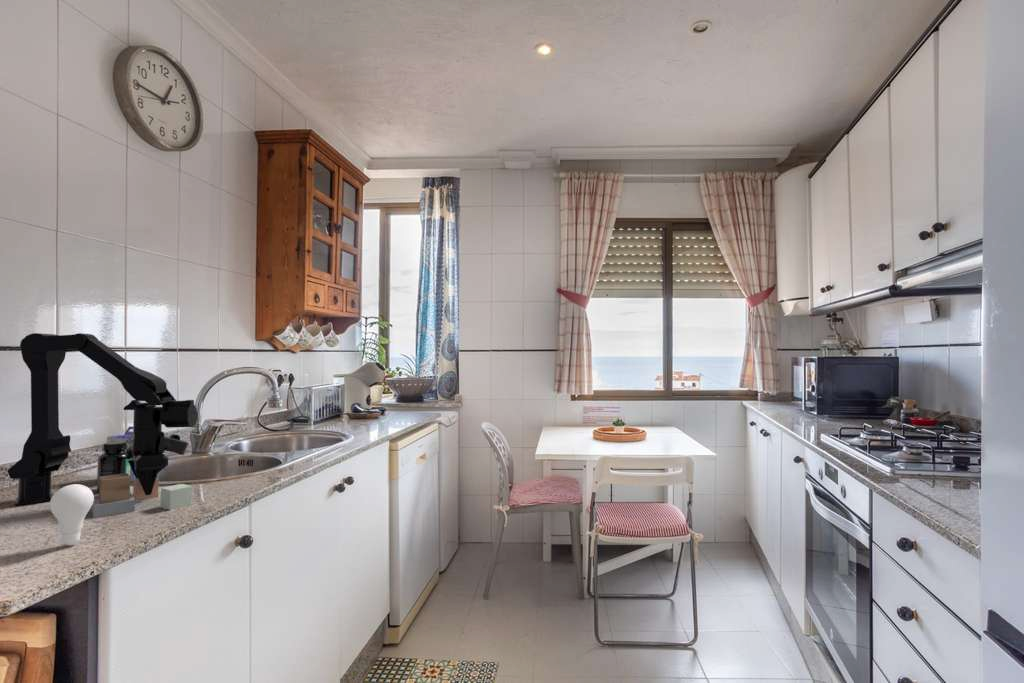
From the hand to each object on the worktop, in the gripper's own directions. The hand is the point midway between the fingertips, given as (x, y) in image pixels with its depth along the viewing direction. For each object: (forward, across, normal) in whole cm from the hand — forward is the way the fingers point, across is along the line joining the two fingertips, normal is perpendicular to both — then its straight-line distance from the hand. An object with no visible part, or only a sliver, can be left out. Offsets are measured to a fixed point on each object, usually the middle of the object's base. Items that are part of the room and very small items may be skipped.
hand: (145, 491), depth 125 cm
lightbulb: (+2, -30, +15) cm, 34 cm away
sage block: (+1, -14, -4) cm, 15 cm away
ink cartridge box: (+2, +25, +1) cm, 25 cm away
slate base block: (+2, -9, +7) cm, 12 cm away
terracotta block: (+1, 0, 0) cm, 1 cm away
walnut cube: (-1, -9, +7) cm, 11 cm away
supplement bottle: (+2, +14, +5) cm, 15 cm away
